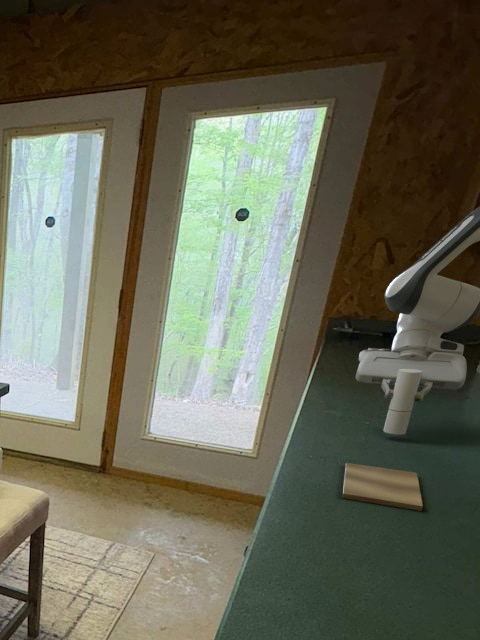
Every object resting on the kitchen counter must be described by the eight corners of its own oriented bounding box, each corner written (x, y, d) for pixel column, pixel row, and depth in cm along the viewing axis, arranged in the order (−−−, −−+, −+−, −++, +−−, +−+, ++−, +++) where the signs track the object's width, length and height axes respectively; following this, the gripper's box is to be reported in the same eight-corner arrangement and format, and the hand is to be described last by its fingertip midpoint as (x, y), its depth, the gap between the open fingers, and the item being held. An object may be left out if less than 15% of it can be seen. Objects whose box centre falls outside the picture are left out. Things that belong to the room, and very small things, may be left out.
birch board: (345, 467, 136) (346, 462, 136) (415, 477, 129) (417, 472, 129) (341, 498, 121) (343, 493, 121) (421, 511, 114) (423, 506, 114)
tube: (409, 434, 149) (426, 372, 143) (389, 434, 150) (405, 372, 144) (399, 429, 153) (415, 368, 147) (379, 429, 153) (394, 368, 148)
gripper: (362, 340, 155) (350, 387, 151) (473, 345, 143) (463, 396, 139) (359, 355, 160) (348, 400, 156) (466, 361, 148) (456, 411, 144)
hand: (403, 398), depth 148 cm, fingers closed on tube, 4 cm apart
